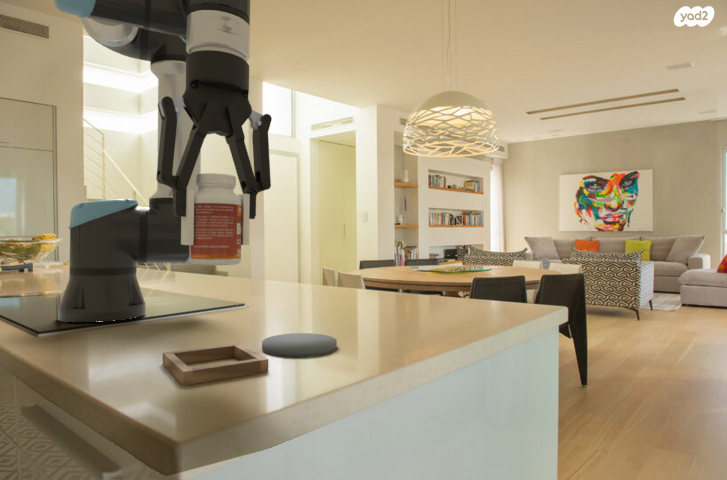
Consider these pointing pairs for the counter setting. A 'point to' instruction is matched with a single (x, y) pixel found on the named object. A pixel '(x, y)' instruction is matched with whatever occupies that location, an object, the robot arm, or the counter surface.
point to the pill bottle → (216, 221)
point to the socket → (187, 376)
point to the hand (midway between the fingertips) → (215, 244)
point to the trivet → (299, 345)
